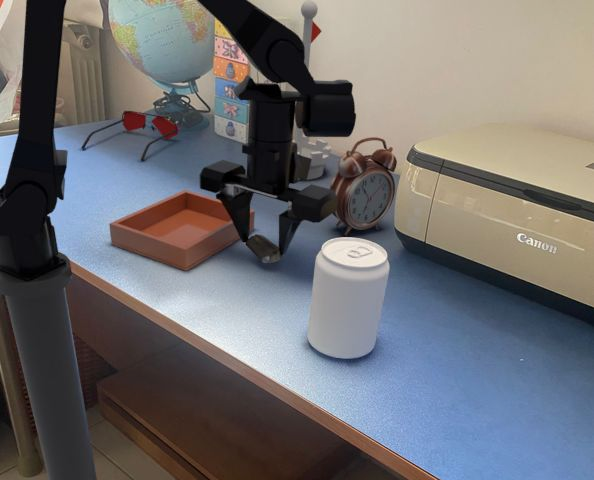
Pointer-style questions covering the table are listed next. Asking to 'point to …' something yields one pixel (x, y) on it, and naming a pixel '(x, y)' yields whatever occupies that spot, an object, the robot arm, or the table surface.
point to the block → (263, 249)
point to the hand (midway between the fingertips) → (263, 247)
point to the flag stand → (305, 148)
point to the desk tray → (177, 230)
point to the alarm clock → (364, 186)
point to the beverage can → (347, 297)
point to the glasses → (143, 126)
